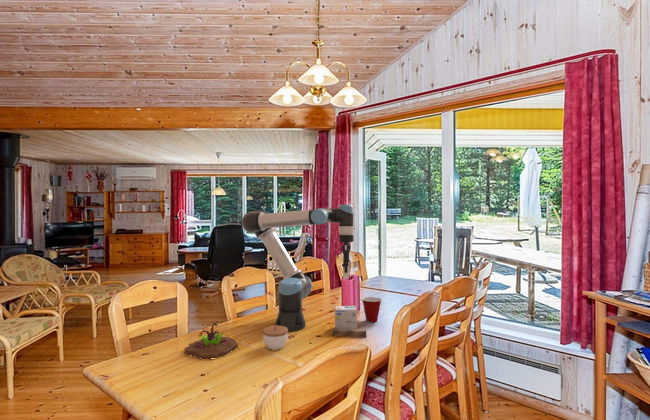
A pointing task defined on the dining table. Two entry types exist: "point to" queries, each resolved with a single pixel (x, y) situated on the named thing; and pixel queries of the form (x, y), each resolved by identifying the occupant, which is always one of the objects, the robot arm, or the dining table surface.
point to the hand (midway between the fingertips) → (346, 276)
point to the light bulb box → (346, 317)
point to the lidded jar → (275, 337)
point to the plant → (211, 345)
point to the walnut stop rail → (349, 333)
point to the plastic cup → (371, 308)
